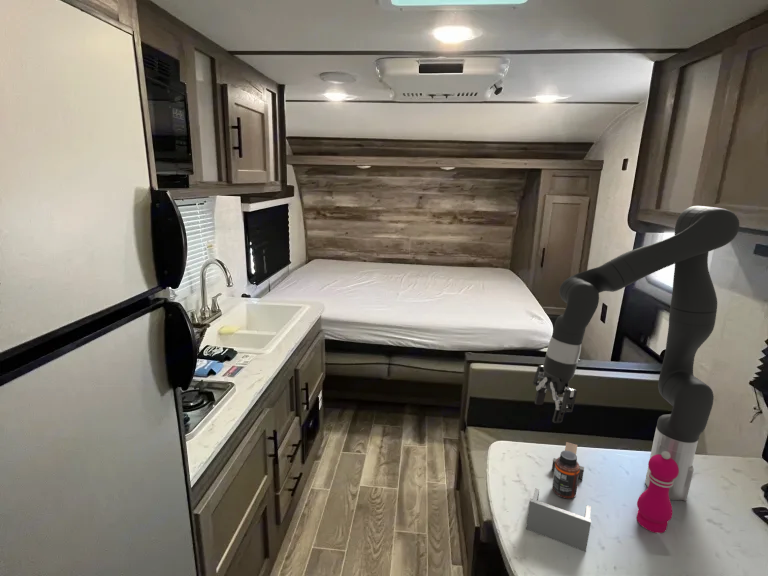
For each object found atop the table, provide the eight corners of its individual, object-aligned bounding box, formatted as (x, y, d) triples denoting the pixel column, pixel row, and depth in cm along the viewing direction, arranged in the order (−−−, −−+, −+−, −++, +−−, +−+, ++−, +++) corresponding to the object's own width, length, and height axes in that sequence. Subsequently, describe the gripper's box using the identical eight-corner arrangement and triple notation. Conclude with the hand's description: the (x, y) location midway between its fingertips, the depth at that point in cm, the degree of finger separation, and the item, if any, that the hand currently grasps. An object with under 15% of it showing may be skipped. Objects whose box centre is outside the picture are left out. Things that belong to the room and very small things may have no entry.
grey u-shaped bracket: (588, 518, 105) (593, 491, 103) (585, 551, 96) (590, 522, 94) (533, 499, 111) (537, 473, 109) (525, 529, 102) (529, 500, 100)
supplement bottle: (571, 484, 117) (577, 448, 114) (579, 500, 111) (585, 463, 108) (549, 482, 117) (554, 447, 114) (555, 498, 112) (560, 461, 109)
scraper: (584, 465, 125) (586, 447, 123) (582, 481, 118) (585, 462, 117) (554, 456, 128) (557, 439, 127) (551, 471, 122) (554, 453, 120)
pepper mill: (639, 507, 109) (653, 438, 104) (672, 523, 104) (688, 452, 99) (630, 522, 104) (644, 451, 99) (664, 540, 99) (681, 466, 94)
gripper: (593, 369, 102) (576, 429, 106) (559, 345, 115) (545, 398, 119) (565, 368, 100) (549, 429, 104) (534, 343, 113) (520, 398, 118)
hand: (547, 412), depth 112 cm, fingers open, 8 cm apart
